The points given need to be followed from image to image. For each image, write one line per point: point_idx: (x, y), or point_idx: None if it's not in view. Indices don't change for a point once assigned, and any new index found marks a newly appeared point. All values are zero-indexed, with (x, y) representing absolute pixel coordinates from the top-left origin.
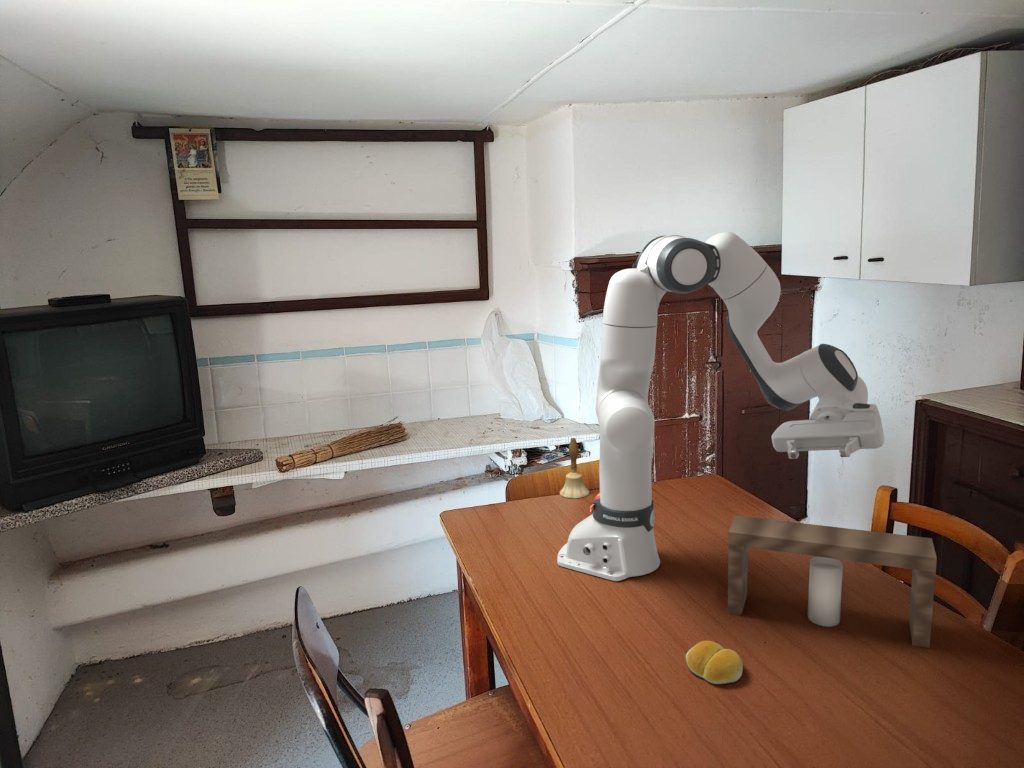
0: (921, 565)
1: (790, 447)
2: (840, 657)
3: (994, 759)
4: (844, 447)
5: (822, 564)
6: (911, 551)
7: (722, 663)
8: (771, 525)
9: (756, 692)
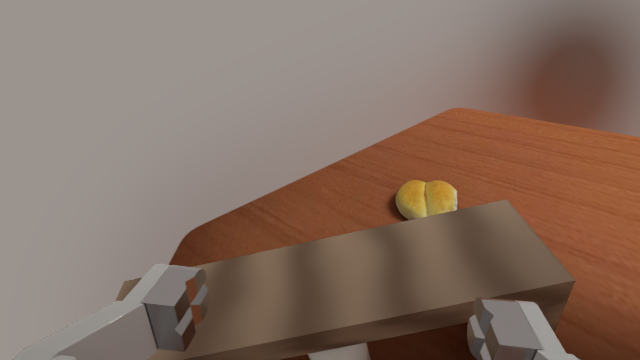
0: None
1: (551, 341)
2: None
3: (200, 225)
4: (164, 278)
5: None
6: None
7: (409, 182)
8: (447, 267)
9: (376, 199)
